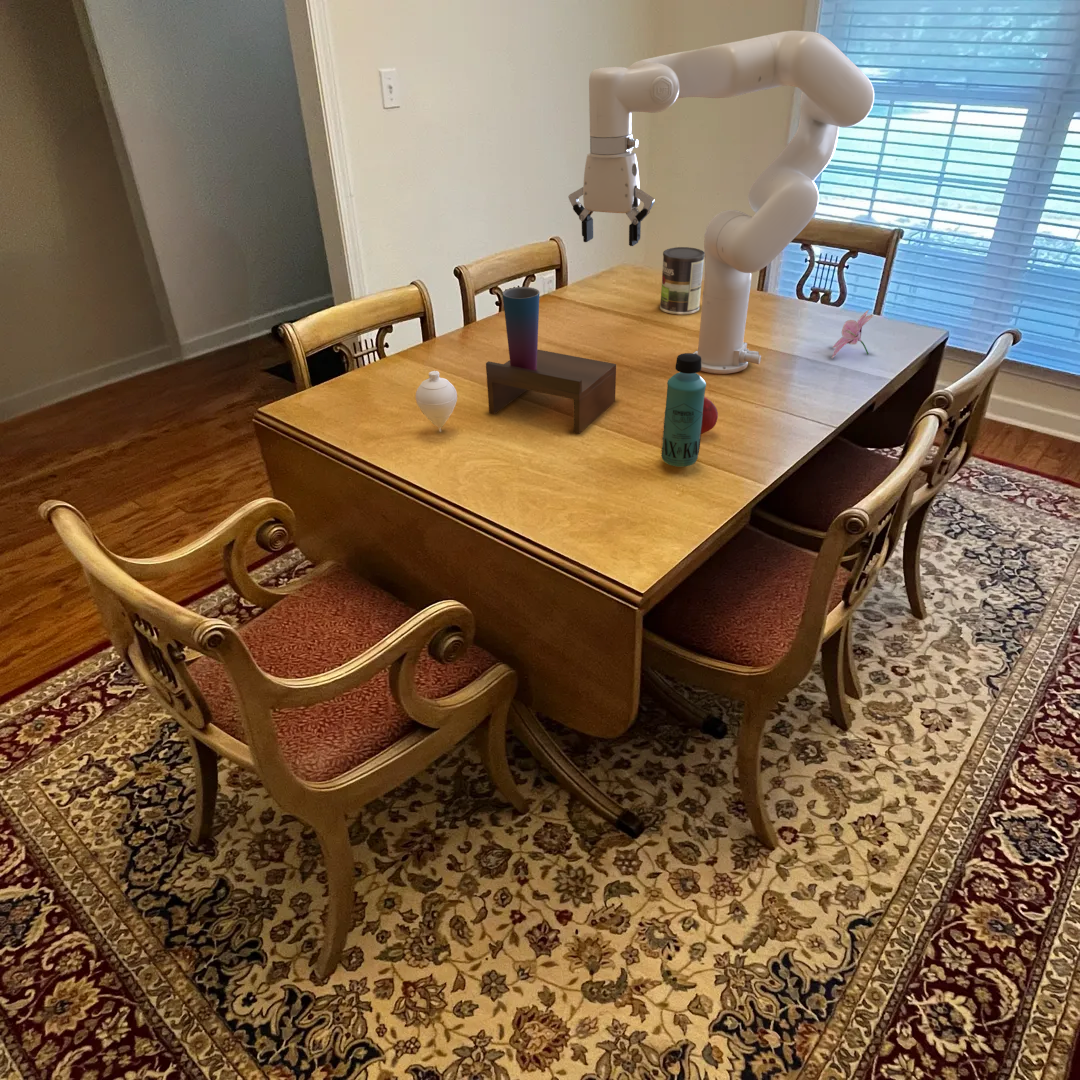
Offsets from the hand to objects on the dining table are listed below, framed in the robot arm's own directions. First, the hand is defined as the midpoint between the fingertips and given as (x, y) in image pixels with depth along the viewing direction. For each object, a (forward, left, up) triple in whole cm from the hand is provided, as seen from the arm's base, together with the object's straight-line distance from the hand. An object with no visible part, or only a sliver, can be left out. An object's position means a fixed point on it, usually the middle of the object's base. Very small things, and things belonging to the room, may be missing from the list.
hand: (610, 242), depth 155 cm
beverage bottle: (-28, +30, -28) cm, 50 cm away
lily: (-43, -35, -28) cm, 62 cm away
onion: (-27, +17, -28) cm, 42 cm away
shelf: (+3, +19, -28) cm, 34 cm away
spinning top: (+17, +38, -28) cm, 50 cm away
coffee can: (+2, -48, -28) cm, 56 cm away
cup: (+8, +21, -20) cm, 30 cm away
